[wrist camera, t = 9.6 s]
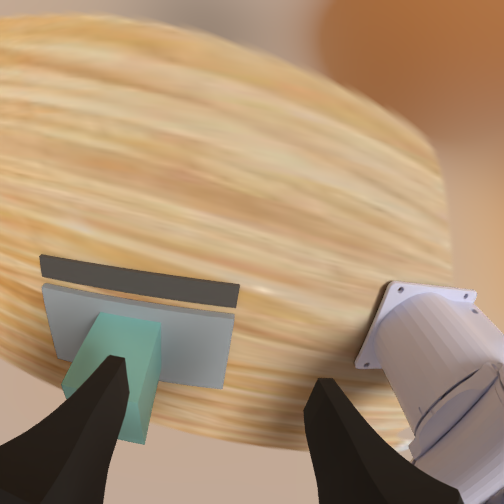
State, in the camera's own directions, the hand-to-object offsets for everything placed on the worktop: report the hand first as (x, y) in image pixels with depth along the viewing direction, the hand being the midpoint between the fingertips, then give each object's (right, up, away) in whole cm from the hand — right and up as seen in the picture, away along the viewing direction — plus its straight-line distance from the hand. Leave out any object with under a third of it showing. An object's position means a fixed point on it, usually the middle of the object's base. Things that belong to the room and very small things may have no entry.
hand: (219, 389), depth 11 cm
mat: (-7, -1, +10) cm, 13 cm away
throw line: (-7, +3, +9) cm, 11 cm away
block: (-7, -1, +10) cm, 12 cm away
